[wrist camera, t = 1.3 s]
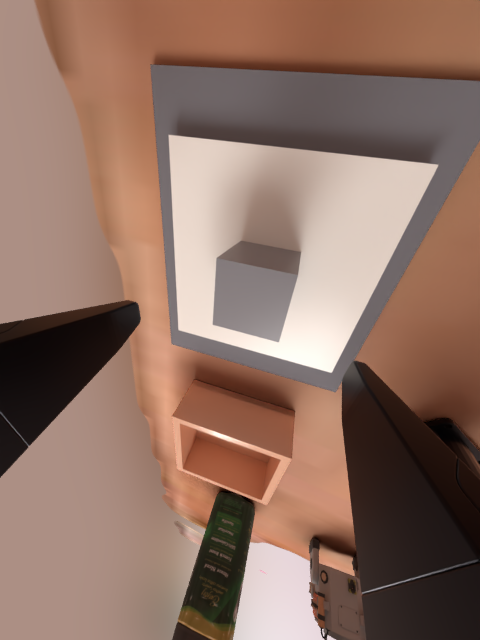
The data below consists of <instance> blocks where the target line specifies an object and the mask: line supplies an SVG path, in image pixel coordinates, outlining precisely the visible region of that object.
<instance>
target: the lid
mask: <svg viewBox="0 0 480 640" xmlns="http://www.w3.org/2000/svg"><path fill="white" fill-rule="evenodd" d="M169 153H170V173H171V193H172V212H173V232H174V252H175V272H176V291H177V311H178V330H180V331H183V332H187V333H191V334H194V335H198V336H201V337H205V338H208V339H212V340H216V341H219V342H223V343H226V344H230V345H233V346H237V347H241V348H244V349H248V350H251V351H255V352H258V353H262V354H266V355H269V356H273V357H276V358H280V359H284V360H287V361H291V362H294V363H298V364H301V365H305V366H309V367H312V368H316V369H319V370H323V371H326V372H330V373H332V371H333V369H334V367H335V365H336V363H337V361H338V359H339V357H340V356H341V354H342V352H343V350H344V348H345V346H346V344H347V342H348V340H349V338H350V336H351V334H352V332H353V330H354V328H355V326H356V324H357V323H358V321H359V319H360V317H361V315H362V313H363V311H364V309H365V307H366V305H367V303H368V301H369V299H370V297H371V295H372V293H373V292H374V290H375V288H376V286H377V284H378V282H379V280H380V278H381V276H382V274H383V272H384V270H385V268H386V266H387V264H388V262H389V260H390V259H391V257H392V255H393V253H394V251H395V249H396V247H397V245H398V243H399V241H400V239H401V237H402V235H403V233H404V231H405V229H406V227H407V226H408V224H409V222H410V220H411V218H412V216H413V214H414V212H415V210H416V208H417V206H418V204H419V202H420V200H421V198H422V196H423V194H424V193H425V191H426V189H427V187H428V185H429V183H430V181H431V179H432V177H433V175H434V173H435V171H436V169H437V167H438V165H436V164H427V163H418V162H409V161H400V160H391V159H382V158H373V157H364V156H355V155H346V154H337V153H328V152H319V151H310V150H301V149H292V148H283V147H274V146H265V145H256V144H247V143H238V142H229V141H220V140H211V139H202V138H193V137H184V136H175V135H169Z"/></svg>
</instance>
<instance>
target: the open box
mask: <svg viewBox="0 0 480 640" xmlns="http://www.w3.org/2000/svg"><path fill="white" fill-rule="evenodd" d="M294 417H295V411H292V410H289V409H286V408H282V407H279V406H276V405H273V404H270V403H267V402H264V401H260V400H257V399H254V398H251V397H248V396H245V395H242V394H238V393H235V392H232V391H229V390H226V389H223V388H220V387H217V386H213V385H210V384H207V383H204V382H201V381H198V380H195V379H194V381H193V383H192V384H191V386H190V388H189V389H188V391H187V393H186V394H185V396H184V397H183V399H182V401H181V402H180V404H179V406H178V407H177V409H176V411H175V412H174V414H173V415H172V421H173V432H174V442H175V452H176V462H177V470H180V471H182V472H185V473H187V474H190V475H192V476H195V477H197V478H200V479H202V480H205V481H207V482H210V483H212V484H215V485H217V486H220V487H222V488H225V489H227V490H230V491H232V492H235V493H237V494H240V495H242V496H245V497H247V498H250V499H252V500H255V501H257V502H260V503H262V504H265V505H267V504H268V502H269V500H270V498H271V496H272V495H273V493H274V491H275V489H276V487H277V485H278V484H279V482H280V480H281V478H282V476H283V474H284V472H285V471H286V469H287V467H288V465H289V463H290V461H291V459H292V448H293V432H294Z"/></svg>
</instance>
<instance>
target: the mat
mask: <svg viewBox="0 0 480 640" xmlns="http://www.w3.org/2000/svg"><path fill="white" fill-rule="evenodd" d="M150 65H151V64H150ZM151 79H152V92H153V105H154V118H155V131H156V144H157V158H158V171H159V184H160V197H161V210H162V223H163V237H164V250H165V263H166V276H167V289H168V303H169V316H170V329H171V342H172V344H173V345H177V346H180V347H183V348H187V349H190V350H194V351H197V352H200V353H204V354H207V355H211V356H214V357H217V358H221V359H224V360H228V361H231V362H234V363H238V364H241V365H245V366H248V367H251V368H255V369H258V370H262V371H265V372H269V373H272V374H275V375H279V376H282V377H286V378H289V379H292V380H296V381H299V382H303V383H306V384H309V385H313V386H316V387H320V388H323V389H326V390H330V391H333V392H336V391H337V389H338V387H339V385H340V384H341V382H342V379H343V376H344V374H345V372H346V370H347V369H348V367H349V365H350V363H351V362H352V361H354V359H355V357H356V356H357V354H358V352H359V350H360V349H361V347H362V345H363V344H364V342H365V340H366V338H367V337H368V335H369V333H370V331H371V330H372V328H373V326H374V324H375V323H376V321H377V319H378V317H379V316H380V314H381V312H382V310H383V309H384V307H385V305H386V303H387V302H388V300H389V298H390V296H391V295H392V293H393V291H394V289H395V288H396V286H397V284H398V282H399V281H400V279H401V277H402V275H403V274H404V272H405V270H406V268H407V267H408V265H409V263H410V261H411V260H412V258H413V256H414V254H415V253H416V251H417V249H418V247H419V246H420V244H421V242H422V240H423V239H424V237H425V235H426V233H427V232H428V230H429V228H430V226H431V225H432V223H433V221H434V219H435V218H436V216H437V214H438V212H439V211H440V209H441V207H442V205H443V204H444V202H445V200H446V198H447V197H448V195H449V193H450V191H451V190H452V188H453V186H454V184H455V183H456V181H457V179H458V177H459V176H460V174H461V172H462V170H463V169H464V167H465V165H466V163H467V162H468V160H469V158H470V156H471V155H472V153H473V151H474V149H475V148H476V146H477V144H478V142H479V141H480V81H469V80H449V79H429V78H409V77H389V76H369V75H349V74H330V73H310V72H290V71H270V70H250V69H230V68H210V67H190V66H171V65H151ZM169 135H175V136H184V137H193V138H202V139H211V140H220V141H229V142H238V143H247V144H256V145H265V146H274V147H283V148H292V149H301V150H310V151H319V152H328V153H337V154H346V155H355V156H364V157H373V158H382V159H391V160H400V161H409V162H418V163H427V164H436V165H438V167H437V169H436V171H435V173H434V175H433V177H432V179H431V181H430V183H429V185H428V187H427V189H426V191H425V193H424V194H423V196H422V198H421V200H420V202H419V204H418V206H417V208H416V210H415V212H414V214H413V216H412V218H411V220H410V222H409V224H408V226H407V227H406V229H405V231H404V233H403V235H402V237H401V239H400V241H399V243H398V245H397V247H396V249H395V251H394V253H393V255H392V257H391V259H390V260H389V262H388V264H387V266H386V268H385V270H384V272H383V274H382V276H381V278H380V280H379V282H378V284H377V286H376V288H375V290H374V292H373V293H372V295H371V297H370V299H369V301H368V303H367V305H366V307H365V309H364V311H363V313H362V315H361V317H360V319H359V321H358V323H357V324H356V326H355V328H354V330H353V332H352V334H351V336H350V338H349V340H348V342H347V344H346V346H345V348H344V350H343V352H342V354H341V356H340V357H339V359H338V361H337V363H336V365H335V367H334V369H333V371H332V373H330V372H326V371H323V370H319V369H316V368H312V367H309V366H305V365H301V364H298V363H294V362H291V361H287V360H284V359H280V358H276V357H273V356H269V355H266V354H262V353H258V352H255V351H251V350H248V349H244V348H241V347H237V346H233V345H230V344H226V343H223V342H219V341H216V340H212V339H208V338H205V337H201V336H198V335H194V334H191V333H187V332H183V331H180V330H178V311H177V291H176V272H175V252H174V232H173V212H172V193H171V173H170V153H169Z"/></svg>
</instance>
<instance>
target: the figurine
mask: <svg viewBox="0 0 480 640" xmlns="http://www.w3.org/2000/svg"><path fill="white" fill-rule="evenodd" d="M319 549H320V541H318V539H315V538H313V539H312V541H311V543H310V545H309V553H310V574H311V582H310V583H309V584H310V590H309V592H310V593H311V596H312V598H313V599H311V601H312V603H311V606H312V607H313V613H314V616H315V620H316V621H317V623H318V625H319V627H320V628H321V635H322V637H323V634H322V629H324V633H325V637H323V638H324V639H325V640H327V635H329V636H331V637H333V638H334V639H336V640H366V634H365V625H364V616H363V607H362V598H361V595H362V593H361V587H360V578H359V569H358V561H357V555H356V557H354V558H353V561H352V565H353V570H354V573H355V577H354V576H352V575H349V574H347V573H344V572H341V571H339V570H336V569H334V568H331V567H328V566H325V565H322V564H319Z"/></svg>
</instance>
